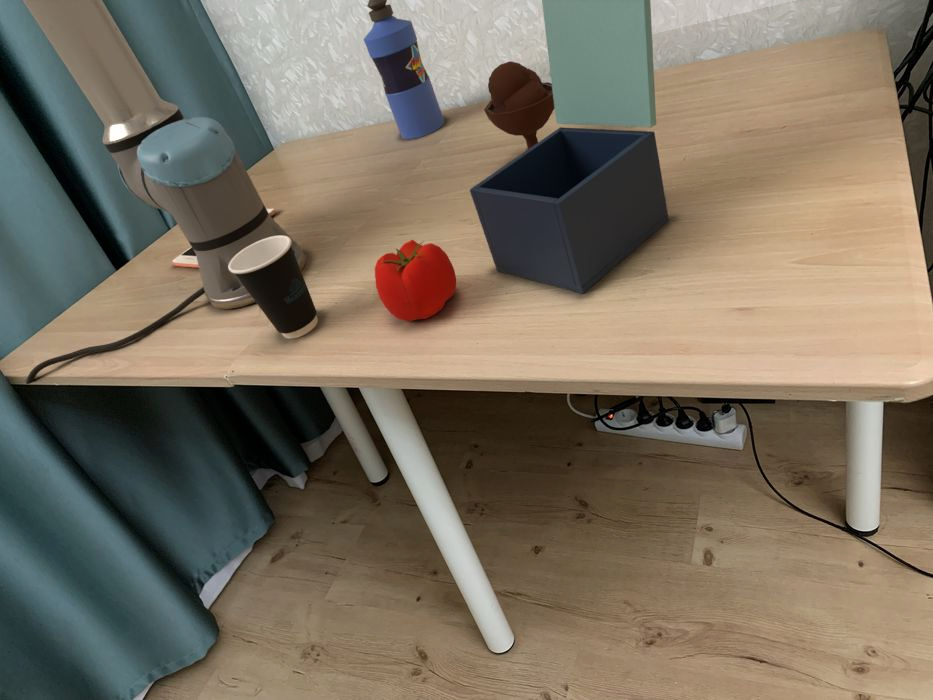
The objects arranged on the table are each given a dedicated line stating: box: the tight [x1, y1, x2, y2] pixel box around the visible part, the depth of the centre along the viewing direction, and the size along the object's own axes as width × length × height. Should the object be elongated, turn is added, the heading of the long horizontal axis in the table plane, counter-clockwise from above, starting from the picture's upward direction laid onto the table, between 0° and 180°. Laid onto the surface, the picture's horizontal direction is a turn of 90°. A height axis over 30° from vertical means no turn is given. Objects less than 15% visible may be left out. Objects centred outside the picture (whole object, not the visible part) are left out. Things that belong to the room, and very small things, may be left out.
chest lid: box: [541, 0, 657, 128], centre depth 75 cm, size 17×14×1 cm
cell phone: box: [171, 208, 277, 269], centre depth 122 cm, size 9×18×1 cm, turn 146°
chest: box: [469, 126, 670, 295], centre depth 79 cm, size 16×14×11 cm
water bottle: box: [363, 0, 445, 140], centre depth 131 cm, size 9×9×25 cm
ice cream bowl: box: [483, 61, 555, 151], centre depth 103 cm, size 11×11×15 cm
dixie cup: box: [228, 235, 319, 340], centre depth 85 cm, size 8×8×11 cm
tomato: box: [374, 239, 458, 322], centre depth 80 cm, size 9×9×8 cm
